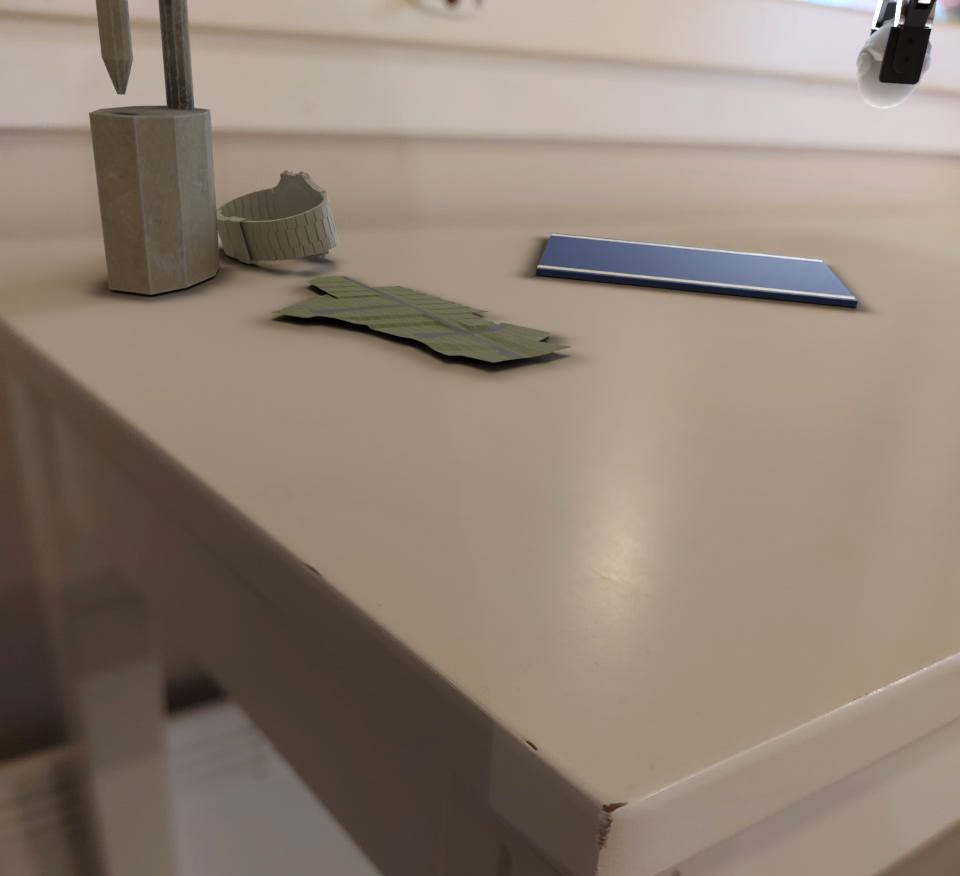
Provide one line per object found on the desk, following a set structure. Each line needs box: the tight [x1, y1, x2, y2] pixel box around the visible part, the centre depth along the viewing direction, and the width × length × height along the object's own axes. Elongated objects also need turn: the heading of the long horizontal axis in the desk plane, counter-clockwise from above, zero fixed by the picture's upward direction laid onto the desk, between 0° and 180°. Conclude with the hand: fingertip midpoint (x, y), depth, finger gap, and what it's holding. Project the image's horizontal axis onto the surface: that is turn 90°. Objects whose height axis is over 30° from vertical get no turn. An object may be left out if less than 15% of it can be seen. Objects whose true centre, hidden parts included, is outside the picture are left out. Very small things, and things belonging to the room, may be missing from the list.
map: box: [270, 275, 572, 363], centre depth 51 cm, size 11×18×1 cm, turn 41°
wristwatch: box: [216, 169, 340, 265], centre depth 61 cm, size 9×6×5 cm
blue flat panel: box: [535, 232, 859, 308], centre depth 69 cm, size 20×14×1 cm
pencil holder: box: [88, 0, 221, 295], centre depth 52 cm, size 4×8×15 cm, turn 167°
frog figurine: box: [855, 16, 933, 110], centre depth 86 cm, size 6×7×7 cm
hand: (888, 80), depth 87 cm, fingers closed on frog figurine, 6 cm apart
